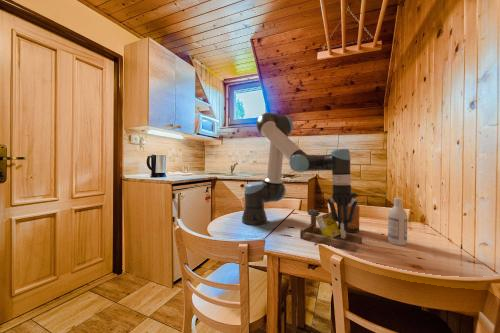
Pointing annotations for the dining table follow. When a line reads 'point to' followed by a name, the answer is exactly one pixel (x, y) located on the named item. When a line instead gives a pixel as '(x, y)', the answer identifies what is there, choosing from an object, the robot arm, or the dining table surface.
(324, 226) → the supplement box
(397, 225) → the bath foam
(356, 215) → the canister
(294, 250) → the dining table surface
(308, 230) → the bay
